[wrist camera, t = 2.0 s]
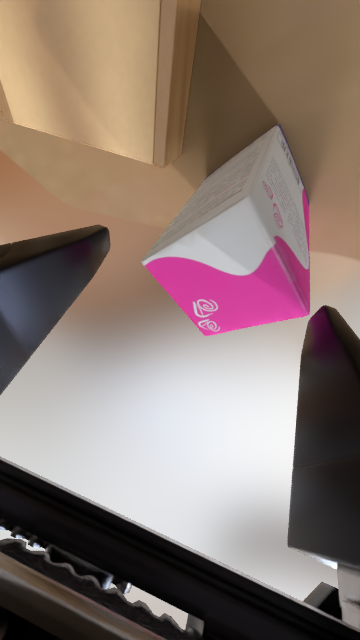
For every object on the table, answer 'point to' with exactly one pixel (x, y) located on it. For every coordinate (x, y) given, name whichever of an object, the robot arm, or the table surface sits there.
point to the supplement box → (240, 243)
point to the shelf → (100, 72)
